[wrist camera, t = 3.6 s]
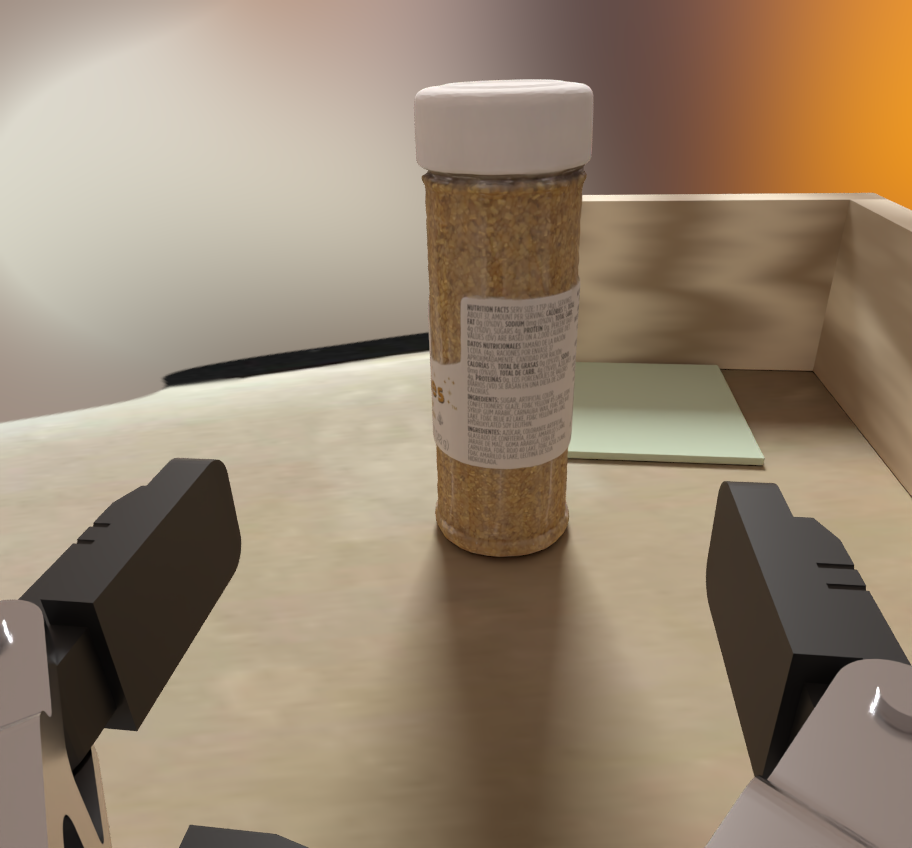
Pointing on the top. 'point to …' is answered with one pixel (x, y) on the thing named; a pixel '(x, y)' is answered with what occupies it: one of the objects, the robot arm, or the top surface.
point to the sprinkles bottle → (503, 302)
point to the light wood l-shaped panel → (759, 294)
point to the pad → (658, 415)
